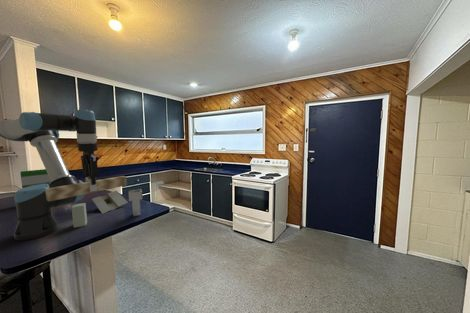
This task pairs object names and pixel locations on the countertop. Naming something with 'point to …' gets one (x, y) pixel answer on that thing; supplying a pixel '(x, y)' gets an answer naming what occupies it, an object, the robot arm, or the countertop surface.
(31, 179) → the hardback book
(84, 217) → the post
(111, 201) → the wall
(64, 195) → the rail
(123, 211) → the countertop surface
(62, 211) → the countertop surface
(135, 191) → the cup bracket
